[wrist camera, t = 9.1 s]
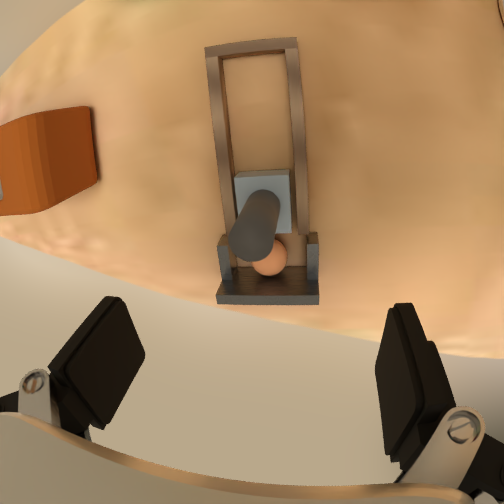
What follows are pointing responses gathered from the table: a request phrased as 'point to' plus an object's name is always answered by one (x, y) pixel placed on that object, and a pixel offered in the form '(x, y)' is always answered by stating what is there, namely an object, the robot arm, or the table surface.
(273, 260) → the ball
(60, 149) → the alarm clock
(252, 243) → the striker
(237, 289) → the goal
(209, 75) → the frame
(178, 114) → the table surface
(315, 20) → the table surface
